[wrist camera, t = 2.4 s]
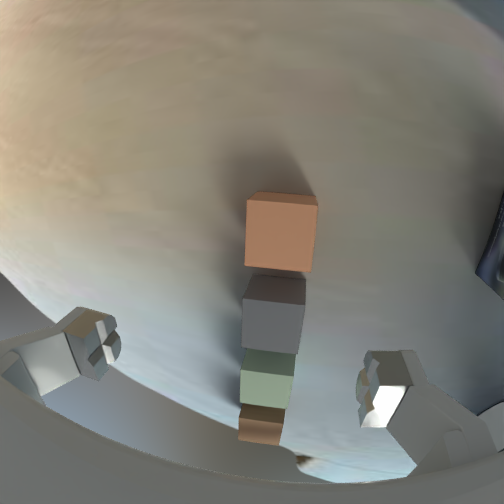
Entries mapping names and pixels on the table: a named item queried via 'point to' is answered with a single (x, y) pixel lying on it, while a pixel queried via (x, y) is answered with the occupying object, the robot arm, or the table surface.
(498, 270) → the small box
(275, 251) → the terracotta block
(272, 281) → the charcoal block
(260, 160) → the table surface
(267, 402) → the sage block
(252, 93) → the table surface
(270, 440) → the walnut block
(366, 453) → the table surface
